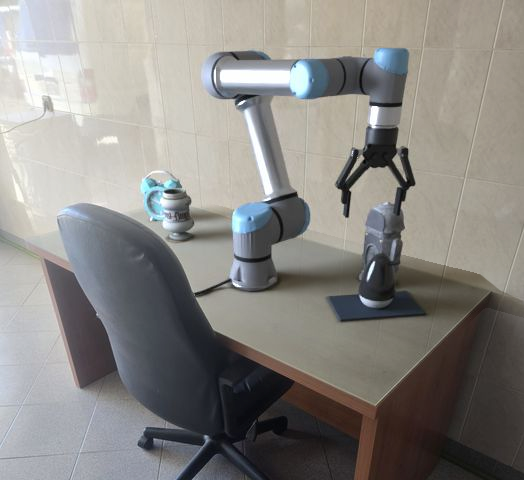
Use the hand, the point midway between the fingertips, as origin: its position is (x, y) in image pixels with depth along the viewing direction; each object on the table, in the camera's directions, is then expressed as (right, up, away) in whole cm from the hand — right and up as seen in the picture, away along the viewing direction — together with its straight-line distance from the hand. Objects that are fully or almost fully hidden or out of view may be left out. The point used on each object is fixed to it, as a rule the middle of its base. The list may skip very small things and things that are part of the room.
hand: (371, 215), depth 122 cm
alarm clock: (-71, +21, +80) cm, 109 cm away
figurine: (+8, -14, +26) cm, 30 cm away
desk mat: (+4, -23, +12) cm, 26 cm away
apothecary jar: (-61, +9, +61) cm, 86 cm away
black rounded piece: (+4, -22, +12) cm, 25 cm away
